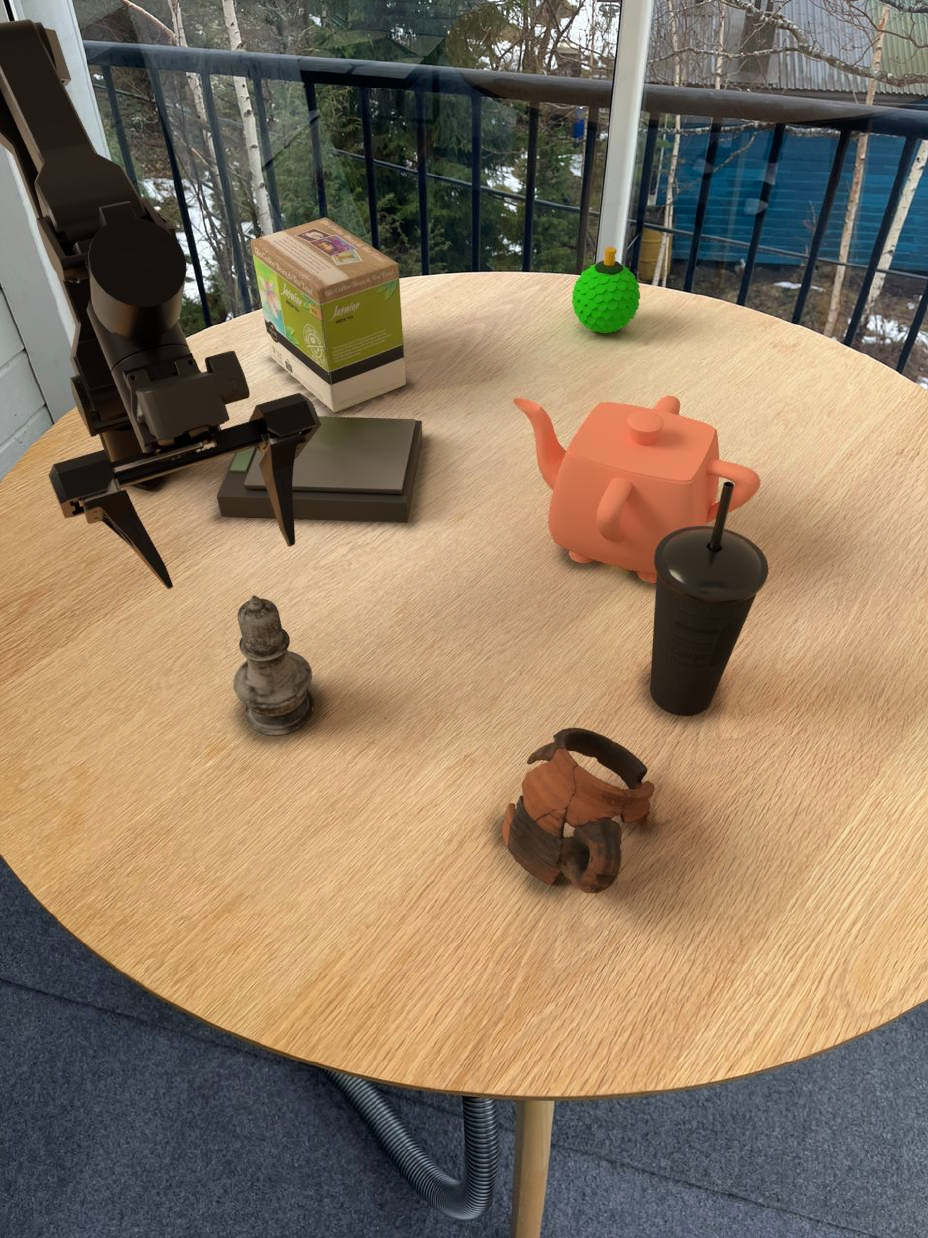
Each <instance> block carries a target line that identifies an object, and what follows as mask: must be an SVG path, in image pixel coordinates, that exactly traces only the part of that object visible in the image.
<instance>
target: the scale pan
mask: <svg viewBox="0 0 928 1238" xmlns="http://www.w3.org/2000/svg"><path fill="white" fill-rule="evenodd" d="M318 418H319V420H320V423H321V425H320V427H319V428H318V430H317V431H316V432H315V434H314V435H313V437H312V438H311V439H310V441H309V442H308V443H307V444H306V446H305V447H304V449H303V450H302V451H301V453H300V454H299V456H298V457H297V458H296V459H295V460H294V467H293V481H292V490H299V491H329V492H358V493H387V494H402V492H403V487H404V481H405V476H406V471H407V466H408V461H409V456H410V451H411V446H412V440H413V435H414V430H415V425H416V420H417V419H416V418H395V417H394V418H393V417H363V416H330V415H329V416H327V415H326V416H325V415H324V416H323V415H318ZM262 458H263V453H262V452H261V451H259V450H257V452H256V455H255V457H254V460H253V462H252V465H251V467H250V470H249V472H248V475H247V477H246V480H245V482H244V487H245V489H267V488H266V485H265V482H264V479H263V476H262V473H261V470H260V467H259V463H260V462H261V460H262Z"/></svg>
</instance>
